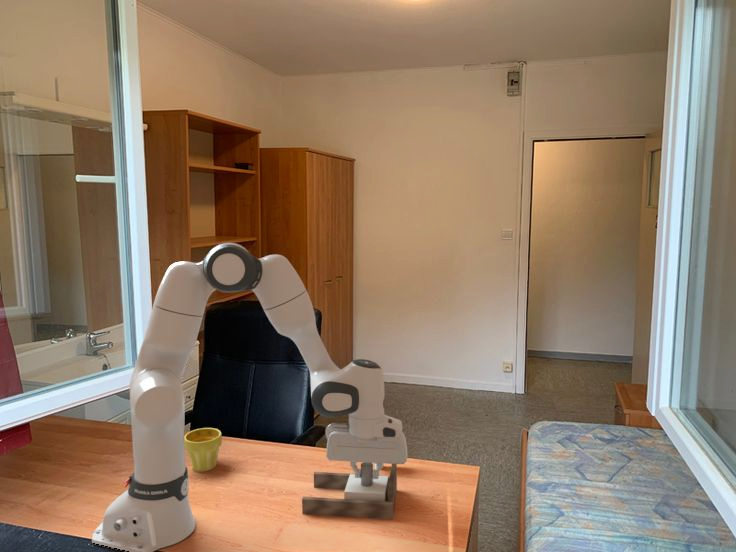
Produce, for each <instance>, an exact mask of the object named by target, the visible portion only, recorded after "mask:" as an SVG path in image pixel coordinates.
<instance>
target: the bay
mask: <svg viewBox="0 0 736 552" xmlns="http://www.w3.org/2000/svg"><path fill="white" fill-rule="evenodd" d="M397 466H398V464H391V468H390V472H389V473H390V474H389V475H387V476H388V499H387V502H386V501H369V500H353V499H344V498H335V497H333V498H332V497H316V496H315V497H314V496H302V498H301V504H302V505H301V507H302V508H301V510H302V511H301V512H302V515H313V516H325V517H326V516H327V517H341V518H358V519H359V518H360V519H361V518H362V519H373V520H374V519H375V520H376V519H377V520H378V519H379V520H391V521H392V520H393V519H394V514H395V513H394V512H395V506H396V499H397V491H398V476H397V469H398V468H397ZM350 474H351V473H346V472H345V473H343V472H342V473H341V472H325V471H314V472H313V488H314V489H315V488H316V489H331V490H332V489H333V490H345V488H346V485H347V482H348V479H349V476H350ZM379 476H384V475H380V474H379Z"/></svg>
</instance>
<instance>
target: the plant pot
mask: <svg viewBox="0 0 736 552" xmlns="http://www.w3.org/2000/svg"><path fill="white" fill-rule="evenodd" d="M222 438H223V437H222V432H221V430H219V429H218V428H213V427H202V428H197V429H193V430H191V431H189V432H187V433H186V434H184V445H185V451H187V453H188V456H189V459H190V463H191V466H192V469H193V471H196V472H207V471H210V470H213V469H214V468H215V467H216V466H217V461H218V456H219V451H220V447H221V446H222V442H223V441H222Z"/></svg>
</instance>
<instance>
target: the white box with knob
mask: <svg viewBox="0 0 736 552" xmlns="http://www.w3.org/2000/svg"><path fill="white" fill-rule="evenodd" d="M360 469H361V478H355V473H349V474H350V476H349V479H348V482H347V485H346V488H345V489H344V497H343V499H353V500H369V501H386V502H388V476H389V475H383V476H379V478H378V479H372V476H373V475H372V472H373V470H374V463H367V462H360Z"/></svg>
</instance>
